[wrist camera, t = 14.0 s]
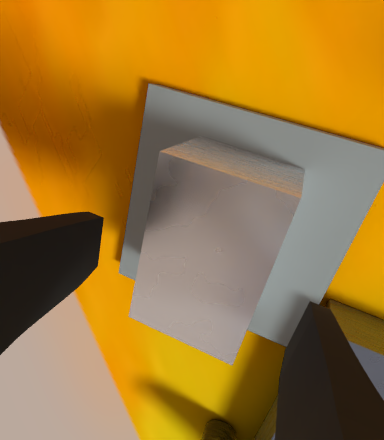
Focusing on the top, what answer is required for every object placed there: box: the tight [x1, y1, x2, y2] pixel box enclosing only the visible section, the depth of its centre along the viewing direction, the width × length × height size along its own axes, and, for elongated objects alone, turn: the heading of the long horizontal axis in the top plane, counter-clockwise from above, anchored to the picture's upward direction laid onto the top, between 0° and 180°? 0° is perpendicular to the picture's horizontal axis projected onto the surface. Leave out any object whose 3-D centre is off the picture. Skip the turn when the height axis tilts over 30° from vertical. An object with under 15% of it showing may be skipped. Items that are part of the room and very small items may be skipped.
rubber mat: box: [119, 84, 384, 347], centre depth 15 cm, size 10×10×1 cm
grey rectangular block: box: [129, 137, 305, 365], centre depth 13 cm, size 7×4×4 cm, turn 167°
